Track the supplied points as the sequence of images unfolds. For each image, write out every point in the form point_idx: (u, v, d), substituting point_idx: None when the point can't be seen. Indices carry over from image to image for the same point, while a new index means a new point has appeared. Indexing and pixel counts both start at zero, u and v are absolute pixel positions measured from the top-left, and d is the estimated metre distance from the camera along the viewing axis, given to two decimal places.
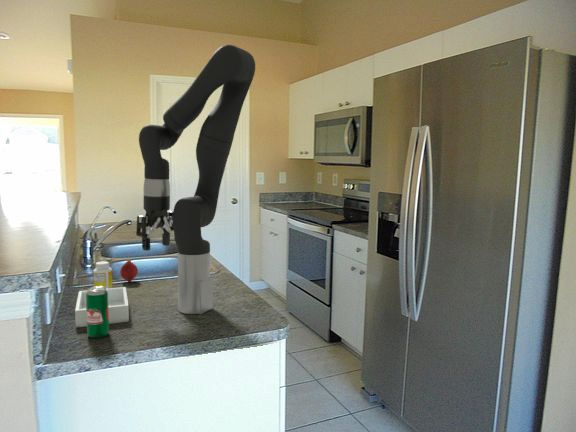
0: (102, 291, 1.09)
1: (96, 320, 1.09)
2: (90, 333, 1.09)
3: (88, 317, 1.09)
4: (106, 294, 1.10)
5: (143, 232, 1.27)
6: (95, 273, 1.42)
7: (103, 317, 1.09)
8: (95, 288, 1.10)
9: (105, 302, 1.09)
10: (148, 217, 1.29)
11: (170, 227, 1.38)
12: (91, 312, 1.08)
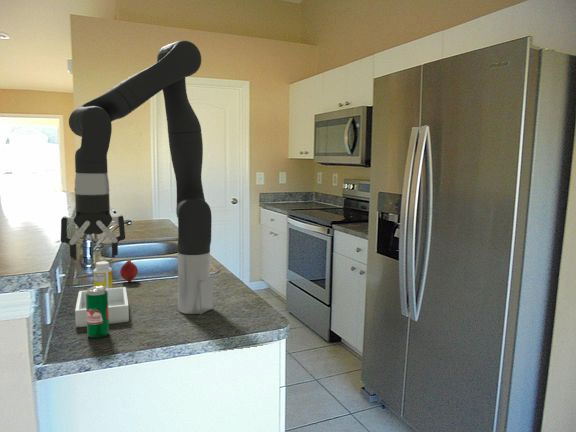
0: (102, 291, 1.09)
1: (96, 320, 1.09)
2: (90, 333, 1.09)
3: (88, 317, 1.09)
4: (106, 294, 1.10)
5: None
6: (95, 273, 1.42)
7: (103, 317, 1.09)
8: (95, 288, 1.10)
9: (105, 302, 1.09)
10: None
11: (67, 237, 1.06)
12: (91, 312, 1.08)
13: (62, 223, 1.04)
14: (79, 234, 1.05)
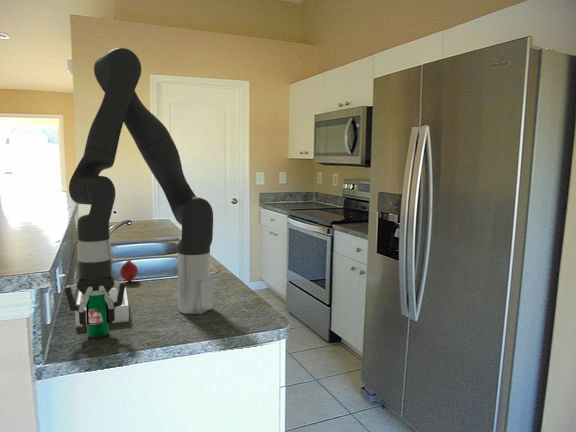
0: None
1: (96, 320, 1.09)
2: (90, 333, 1.09)
3: (88, 317, 1.09)
4: None
5: None
6: None
7: (103, 317, 1.09)
8: None
9: (104, 302, 1.09)
10: None
11: (75, 303, 1.09)
12: (91, 312, 1.08)
13: (67, 293, 1.06)
14: (85, 301, 1.08)
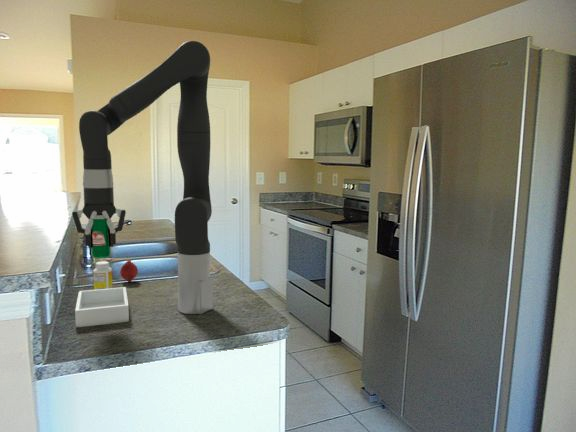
0: None
1: (99, 242, 1.22)
2: (94, 253, 1.22)
3: (92, 239, 1.22)
4: None
5: None
6: (95, 273, 1.42)
7: (105, 239, 1.23)
8: None
9: (107, 226, 1.23)
10: None
11: None
12: (95, 234, 1.21)
13: (74, 216, 1.20)
14: (91, 224, 1.21)
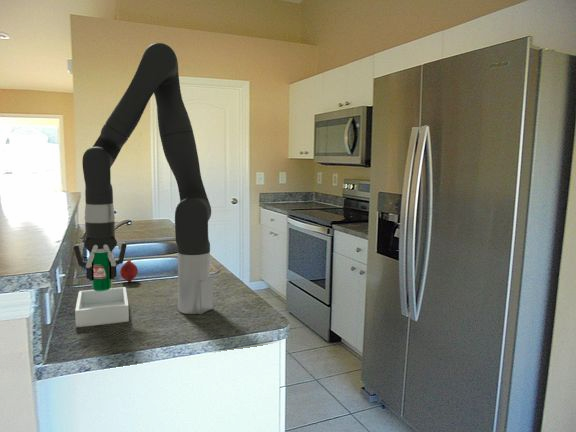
0: None
1: (100, 275, 1.23)
2: (95, 286, 1.24)
3: (93, 272, 1.23)
4: None
5: None
6: None
7: (106, 273, 1.24)
8: None
9: (108, 259, 1.24)
10: None
11: None
12: (96, 267, 1.23)
13: (75, 250, 1.21)
14: (92, 257, 1.22)
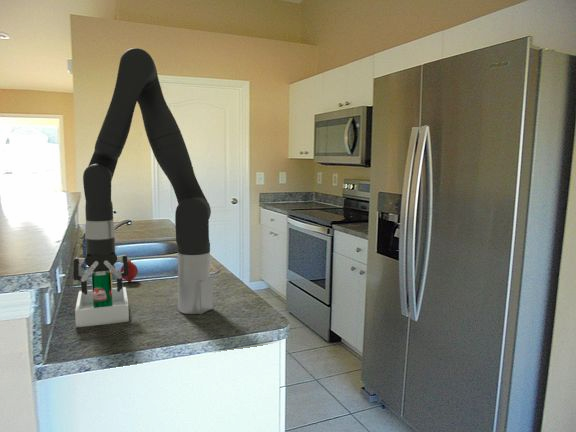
0: (106, 272, 1.24)
1: (101, 297, 1.24)
2: None
3: (94, 295, 1.24)
4: (109, 274, 1.25)
5: None
6: None
7: (107, 295, 1.25)
8: None
9: (108, 281, 1.25)
10: None
11: (78, 275, 1.24)
12: (97, 290, 1.24)
13: (74, 263, 1.21)
14: (89, 272, 1.23)
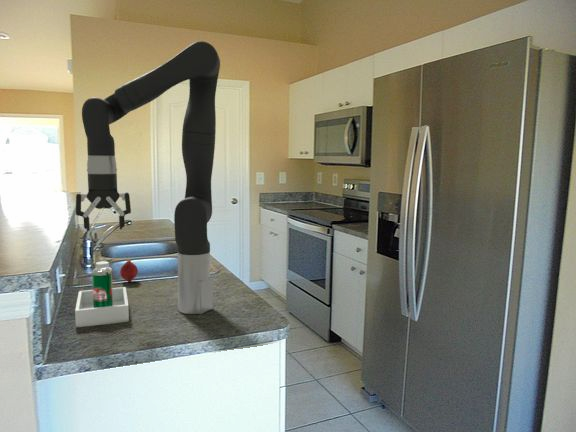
0: (106, 272, 1.24)
1: (101, 298, 1.24)
2: None
3: (94, 295, 1.24)
4: (110, 275, 1.25)
5: None
6: None
7: (107, 295, 1.25)
8: (100, 269, 1.25)
9: (109, 281, 1.25)
10: None
11: (81, 211, 1.24)
12: (97, 290, 1.24)
13: (77, 199, 1.22)
14: (91, 208, 1.23)
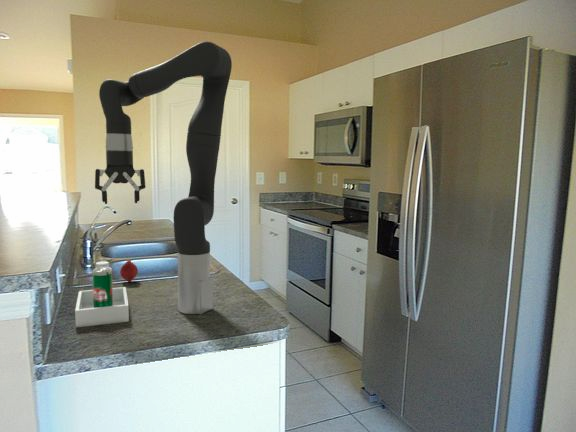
0: (107, 272, 1.24)
1: (101, 298, 1.24)
2: None
3: (94, 295, 1.24)
4: (110, 275, 1.25)
5: None
6: None
7: (107, 295, 1.25)
8: (100, 269, 1.25)
9: (109, 281, 1.25)
10: None
11: (99, 185, 1.33)
12: (97, 290, 1.24)
13: (96, 173, 1.31)
14: (109, 182, 1.32)
